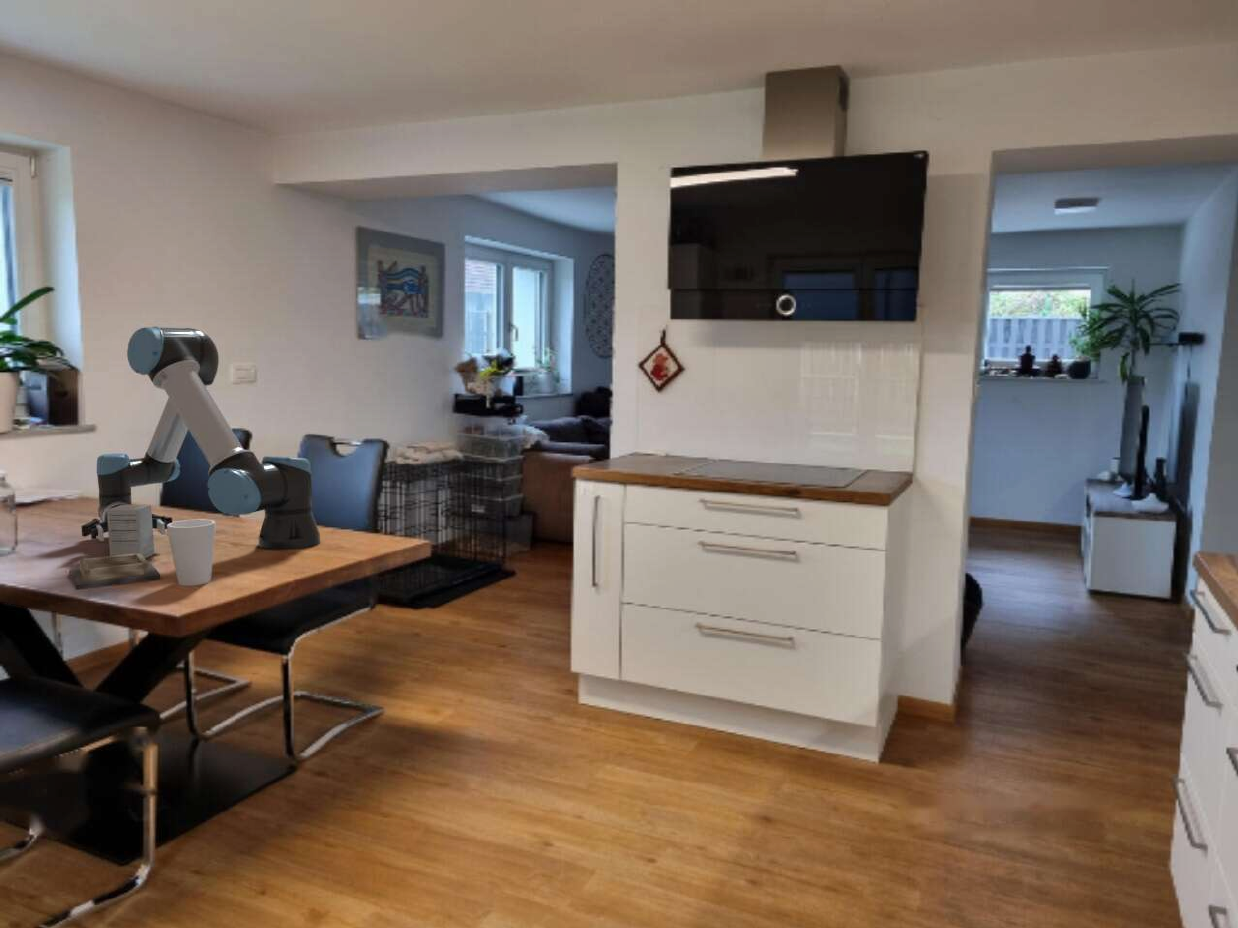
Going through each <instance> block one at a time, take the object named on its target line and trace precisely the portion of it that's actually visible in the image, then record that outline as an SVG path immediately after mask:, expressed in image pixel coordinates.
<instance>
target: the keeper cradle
mask: <svg viewBox="0 0 1238 928" xmlns="http://www.w3.org/2000/svg"><path fill="white" fill-rule="evenodd" d="M68 575H69V577H70V580H71V582H72V585H73V587H74V589H75V591H78V590H79V591H80V590H86V589H95V588H96V589H97V588H103V587H110V586H111V587H112V586H117V585H124V584H126V585H127V584H133V583H141V582H149V581H157V580H162V577H161V575H162V574H161V573H160V572H159V570H157V568H156V567H155V566H154V565H153V563H152V562H150V560H147V559H145V558H144V557H143V556H142V555H141V553H134V554H126V555H117V556H110V555H109V556H100V557H92V558H83V559H79V568H76V569H69V570H68Z"/></svg>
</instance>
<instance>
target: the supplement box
mask: <svg viewBox="0 0 1238 928" xmlns="http://www.w3.org/2000/svg"><path fill="white" fill-rule="evenodd" d="M152 512H153V511H152V505H151V504H132V505H120V506H117V507H115V508H112V509H109V510H107V520H108V532H107V533H108V544H109V545H108V548H109V556H117V555H126V554H134V553H141V555H142V556H143V557H144V558H145V560H147V558H149V557H152V556H153V555H155V545H154V544H155V543H154V529H153V526H152V514H153V513H152Z"/></svg>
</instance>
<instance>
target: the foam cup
mask: <svg viewBox="0 0 1238 928" xmlns="http://www.w3.org/2000/svg"><path fill="white" fill-rule="evenodd" d="M172 522H173V523H169V524H168V525H167V529H166V533H167V537H168V540H169V544H170V549H171V554H172V559H173V563H174V569H175V574H176V578H177V581H178V582H177V583H178V585H180V586H185V587H186V586H189V587H190V586H198V585H199V586H200V585H204V584H207V583H210V582H211V580H212V571H213V563H214V562H213V560H214V551H215V550H214V548H215V540H216V539H215V537H216V533H217V523H216V521H215V520H213V519H202V518H201V519H198V518H197V519H196V518H195V519H185V520H177V521H176V520H175V521H172Z"/></svg>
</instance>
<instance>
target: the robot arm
mask: <svg viewBox="0 0 1238 928" xmlns="http://www.w3.org/2000/svg"><path fill="white" fill-rule="evenodd" d="M126 357H127V362H128V363H129V366H130V368H131V370H133V372H135V373H136V374H139V375H142V376H146V375H147V377H149V379H150V382H151V383H152V384H153V386H154V387H155V388H157V389H159V390H164V391H165V393H166V395H167V397H168V398H167V401H166V403H165V406H164V409H163V410H162V413H161V416H160V418H159V420H158V423H157V426H156V428H155V430H154V432H153V436H152V437H151V440H150V441H149V442H150V443H149V444H148V448H147V449H146V452H145V455H144V457H141V458H140V457H139V458H130V455H128V454H127V453H107V454H101V455H99V456H98V457H97V459H96V476H97V482H98V483H97V484H98V485H97V486H98V507H97V511H98V517H99V518H100V519H98V518H93V519H92V520H91V521H89V522H87V523H85V524H83V525H81V526H80V528H81V536H82V537H88V536H90V538H91V540H96V539H97V538H98V540H99V541H100V542H104V541H105V539H104V536H105V535H104V534H106V533H108V520H107V510H109V509H112V508H115V507H117V506H120V505H133V504H132V503H133V502H132V488H135V487H143V486H147V485H148V486H149V485H156V484H164V483H167V482H171V481H174V480H176V479H177V478H178V477H179V476H180V472H181V470H180V468H181V465H180V462H179V460H178V458H177V457H178V454H179V452H180V450H181V447H182V445H183V443H184V441H185V438H186V436H187V433H188V431H189V433H190V434H191V436H192V438H193V439H194V441H195V442H196V444H197V446H198V448H199V449H200V451H201V453H202V454H203V456H204V458H205V459H206V461H207V462H208V464H209V466H210V467H209V469H208V472H207V474H208V477H209V478H208V480H207V485H206V486H207V488H208V491H207V494H208V497H209V499H210V501H211V503H212V504H213V506H214V507H215V508H216V509H218V510H219V512H222V513H224V514H226V515H229V516H239V515H242V516H243V515H245V516H246V515H250V514H253V513H257V512H260V511H264V517H263V521H262V524H261V528H260V530H259V531H260V532H259V535H258V546H259V547H260V548H262V549H267V550H278V551H279V550H297V549H304V548H311V547H312V546H317V545H318V544H320V543H321V533H320V531H319V528H318V526H317V523H316V519H315V517H314V515H313V499H312V497H313V495H312V474H313V473H312V471H311V462H310V461H309V460H308V459H306V458H304V457H291V456H289V457H288V456H270V455H269V456H263V457H262V461H261V462H260V461H259V459H258V457H257V456H256V455H255V453H254V452H253V451H251V450H247V449H244V447H243V446H242V444H241V443H240V441H239V440H238V437H237V436H236V435H235V433H234V431H233V429H232V428H231V426H230V425H229V423H228V421H227V420H226V418H225V416H224V415H223V413H222V412H221V410H220V408H219V407H218V405H217V403H216V402H215V400H214V399H213V397H212V395H211V393H210V392H209V390H208V389H207V387H209V386H211V385H212V384H213V383H214V381H215V379H216V376H217V373H218V368H219V365H220V364H219V363H220V361H219V357H220V356H219V353H218V349H217V346H216V344H215V343H214V341H213V339H212V338H211V337H210V336H209V335H208V334H207V333H205V332H203V331H201V330H199V329H197V328H190V327H189V328H188V327H186V328H183V327H180V328H179V327H159V326H151V327H150V326H148V327H146V326H145V327H141V328H138V329H137V330H136V331H135V332H133V333H132V335H131V337H130V338H129V341H128V343H127V350H126ZM173 522H174V521H173V517H172V516H171V517H169V516H165V515H162V516H161V515H157V514H154V513H152V526H153V530H154V529H155V530H157V532H159V534H160V535H162V536H163V535H166V530H167V525H168V524H169V523H173Z"/></svg>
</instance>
